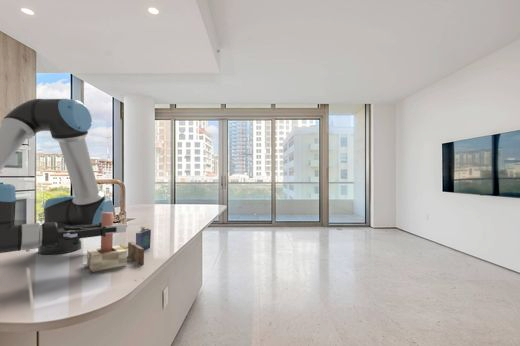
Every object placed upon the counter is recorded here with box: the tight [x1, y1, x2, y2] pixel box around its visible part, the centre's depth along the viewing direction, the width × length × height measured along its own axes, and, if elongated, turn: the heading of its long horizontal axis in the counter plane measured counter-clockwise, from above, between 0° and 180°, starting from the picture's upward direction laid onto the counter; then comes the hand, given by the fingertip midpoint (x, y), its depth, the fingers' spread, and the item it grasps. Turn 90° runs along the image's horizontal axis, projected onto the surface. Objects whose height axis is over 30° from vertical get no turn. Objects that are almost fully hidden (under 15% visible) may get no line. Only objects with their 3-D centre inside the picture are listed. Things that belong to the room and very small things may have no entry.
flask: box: [135, 226, 152, 251], centre depth 115 cm, size 9×3×11 cm, turn 172°
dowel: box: [100, 211, 114, 253], centre depth 93 cm, size 4×4×14 cm
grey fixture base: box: [82, 241, 145, 276], centre depth 95 cm, size 14×16×6 cm
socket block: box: [86, 245, 128, 272], centre depth 93 cm, size 10×10×5 cm
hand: (123, 227), depth 97 cm, fingers closed on dowel, 3 cm apart
